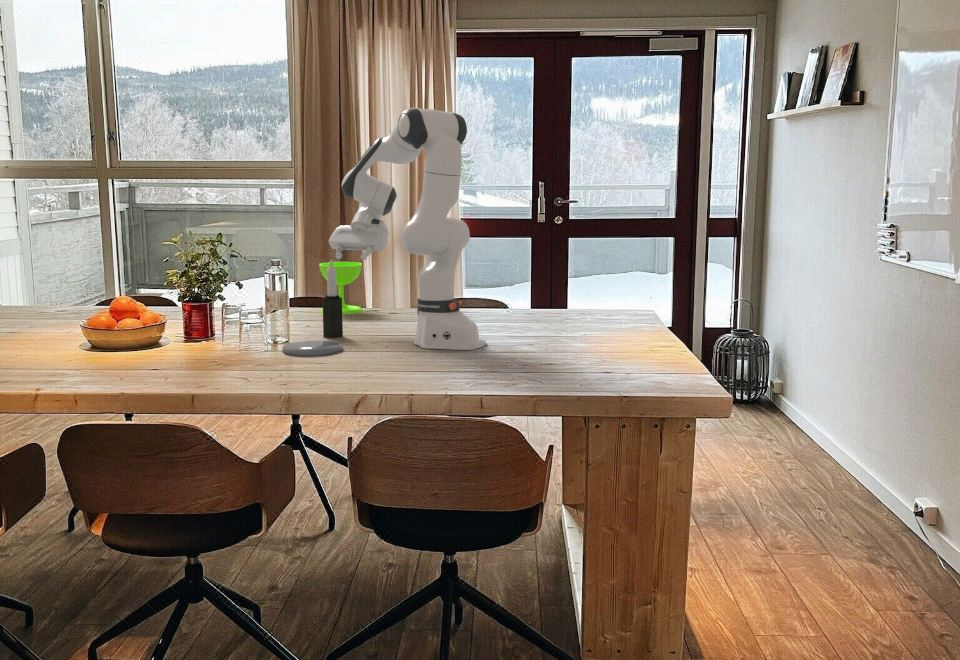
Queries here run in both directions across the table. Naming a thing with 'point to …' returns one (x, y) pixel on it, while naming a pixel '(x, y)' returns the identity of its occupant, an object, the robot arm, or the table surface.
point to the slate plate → (312, 348)
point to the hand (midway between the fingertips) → (350, 257)
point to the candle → (332, 307)
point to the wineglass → (344, 280)
